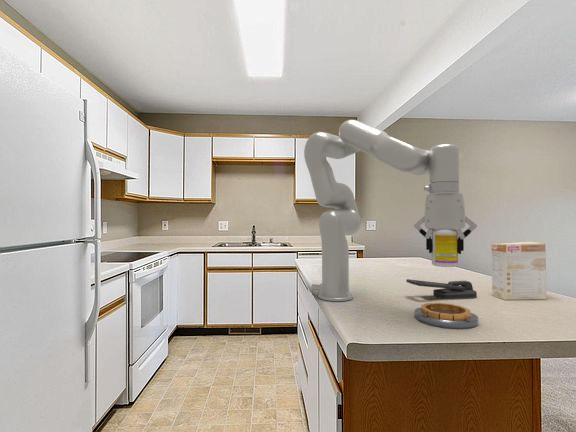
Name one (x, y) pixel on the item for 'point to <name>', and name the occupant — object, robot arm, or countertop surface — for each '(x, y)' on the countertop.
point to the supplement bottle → (445, 248)
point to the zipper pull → (449, 289)
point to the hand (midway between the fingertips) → (444, 252)
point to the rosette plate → (446, 316)
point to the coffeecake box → (518, 270)
